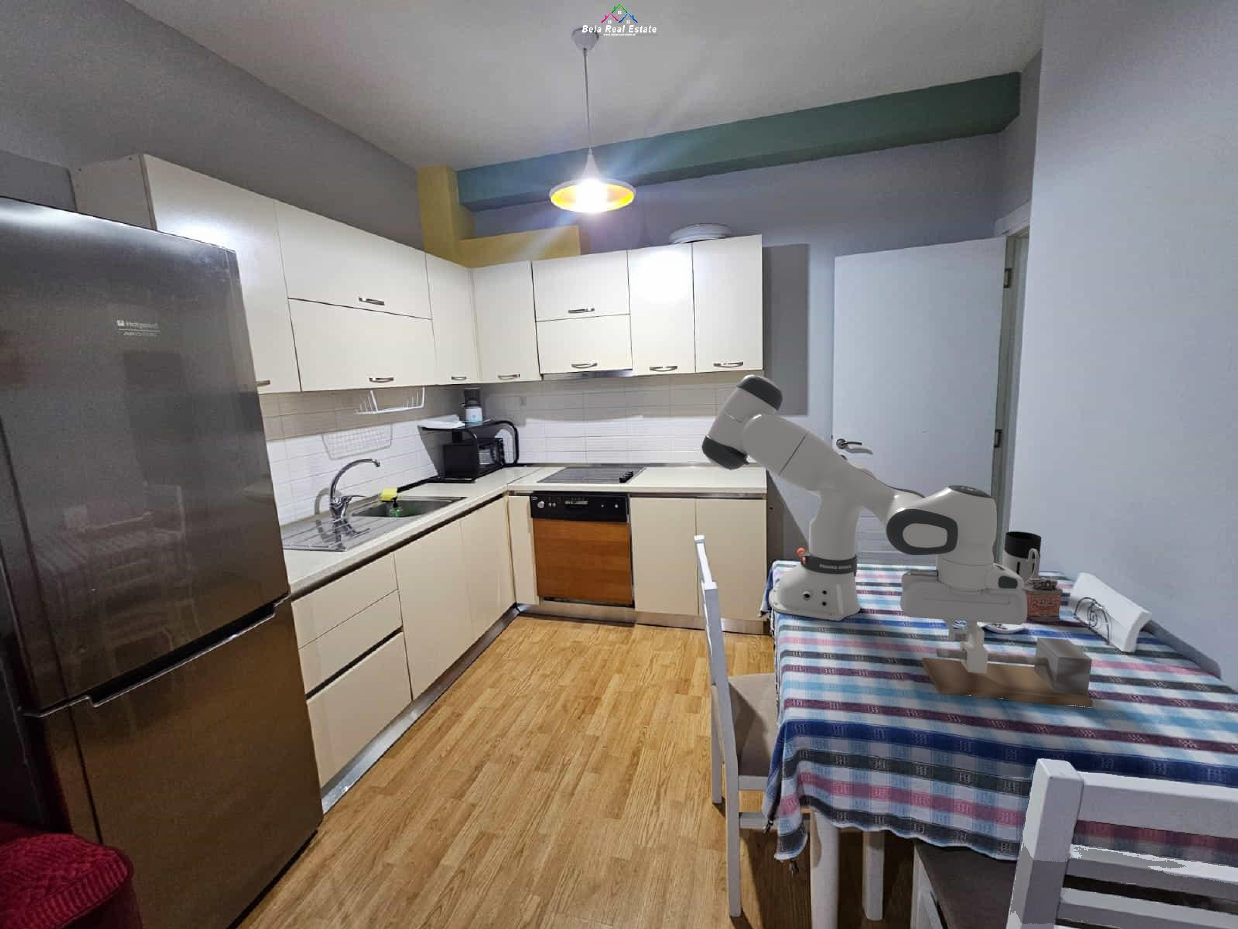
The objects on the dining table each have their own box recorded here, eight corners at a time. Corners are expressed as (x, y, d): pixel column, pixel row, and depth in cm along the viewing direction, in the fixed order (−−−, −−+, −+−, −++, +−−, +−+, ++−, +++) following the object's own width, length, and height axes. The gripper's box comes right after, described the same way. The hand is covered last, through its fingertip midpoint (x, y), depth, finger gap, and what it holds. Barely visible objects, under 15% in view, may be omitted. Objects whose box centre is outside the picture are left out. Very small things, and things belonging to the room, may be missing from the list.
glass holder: (1031, 583, 141) (1036, 531, 138) (1054, 606, 128) (1060, 548, 125) (993, 580, 144) (997, 529, 141) (1012, 602, 131) (1017, 546, 128)
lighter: (1052, 614, 124) (1057, 575, 122) (1063, 621, 120) (1067, 581, 119) (1017, 614, 124) (1020, 575, 123) (1026, 621, 121) (1030, 581, 119)
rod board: (939, 693, 96) (942, 651, 95) (922, 664, 106) (924, 626, 104) (1091, 708, 90) (1097, 664, 89) (1058, 676, 100) (1063, 635, 98)
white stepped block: (968, 672, 97) (971, 630, 95) (959, 659, 101) (962, 619, 100) (986, 673, 96) (990, 632, 95) (976, 660, 100) (979, 620, 99)
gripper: (906, 575, 95) (902, 643, 98) (1035, 581, 90) (1027, 653, 93) (897, 562, 101) (894, 627, 104) (1017, 568, 96) (1011, 636, 99)
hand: (958, 640), depth 98 cm, fingers closed
